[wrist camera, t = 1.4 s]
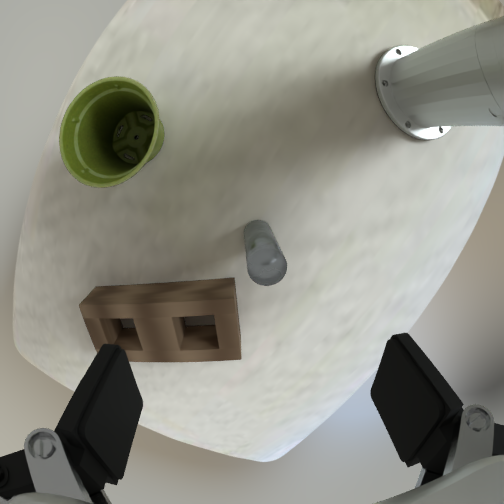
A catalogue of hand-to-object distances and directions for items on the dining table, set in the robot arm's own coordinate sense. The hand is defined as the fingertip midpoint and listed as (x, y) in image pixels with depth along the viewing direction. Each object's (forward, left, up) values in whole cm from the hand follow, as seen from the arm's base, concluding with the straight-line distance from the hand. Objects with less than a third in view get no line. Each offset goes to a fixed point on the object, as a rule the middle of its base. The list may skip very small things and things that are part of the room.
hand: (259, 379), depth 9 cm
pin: (-1, +1, -23) cm, 23 cm away
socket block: (+11, +10, -23) cm, 27 cm away
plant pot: (+11, -11, -23) cm, 27 cm away
